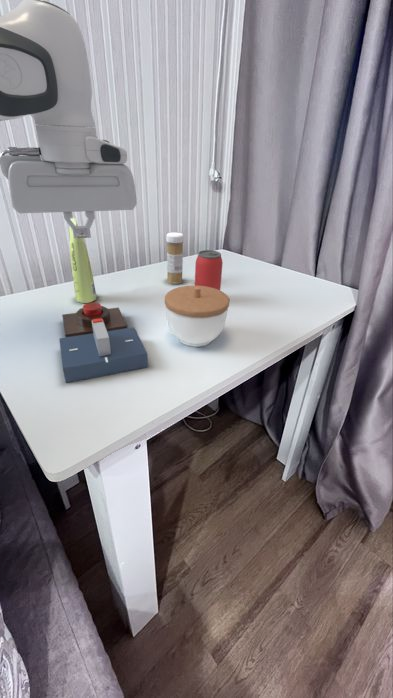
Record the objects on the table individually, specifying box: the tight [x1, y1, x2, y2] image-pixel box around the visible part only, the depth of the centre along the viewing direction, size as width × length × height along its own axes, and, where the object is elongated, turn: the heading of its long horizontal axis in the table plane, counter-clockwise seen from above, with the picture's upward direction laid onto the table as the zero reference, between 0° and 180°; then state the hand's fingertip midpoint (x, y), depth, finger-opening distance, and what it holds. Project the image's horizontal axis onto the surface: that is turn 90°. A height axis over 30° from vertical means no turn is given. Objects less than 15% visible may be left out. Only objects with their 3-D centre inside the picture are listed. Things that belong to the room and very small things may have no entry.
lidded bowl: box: [164, 285, 230, 348], centre depth 66 cm, size 13×13×11 cm
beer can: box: [194, 249, 224, 291], centre depth 82 cm, size 7×7×12 cm
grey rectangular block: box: [92, 318, 111, 356], centre depth 59 cm, size 7×2×4 cm, turn 22°
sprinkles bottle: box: [165, 231, 184, 285], centre depth 91 cm, size 5×5×13 cm
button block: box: [61, 305, 128, 338], centre depth 69 cm, size 12×9×4 cm
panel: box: [59, 326, 149, 384], centre depth 60 cm, size 14×11×3 cm
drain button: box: [82, 302, 102, 317], centre depth 68 cm, size 4×4×2 cm
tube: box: [68, 217, 98, 304], centre depth 78 cm, size 6×5×20 cm
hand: (82, 237), depth 60 cm, fingers closed
